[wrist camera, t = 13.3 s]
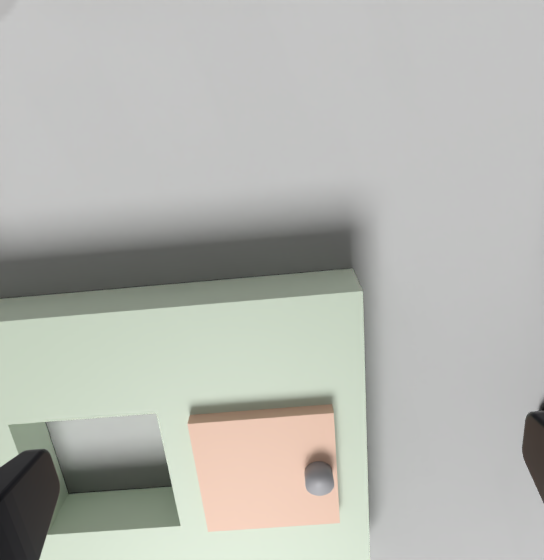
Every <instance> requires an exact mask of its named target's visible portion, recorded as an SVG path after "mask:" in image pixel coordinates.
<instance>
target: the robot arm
mask: <svg viewBox="0 0 544 560" xmlns="http://www.w3.org/2000/svg"><path fill="white" fill-rule="evenodd" d="M522 452H523V457H524V460H525V463H526V465H527V467H528V469H529V472H530V474H531V476H532V478H533V481H534V483H535V485H536V487H537V489H538V492H539V494H540V496H541V498H542V500H543V503H544V409H543V410H542V411H535V412H530V413H528V414H527V416H526V420H525V428H524V436H523V445H522ZM59 493H60V482H59V478H58V475H57V472H56V469H55V466H54V463H53V460H52V457H51V454H50V452H49V451H48V450H46V449H33V450H25V451H23V452H21V453H20V454H18V455H17V456H16V457H14V458H13V459H11V460H10V461H8V462H7V463H5V464H4V465H3V466H1V467H0V560H39V559H40V556H41V553H42V550H43V546H44V543H45V540H46V536H47V533H48V530H49V527H50V523H51V520H52V517H53V513H54V510H55V507H56V504H57V500H58V497H59Z"/></svg>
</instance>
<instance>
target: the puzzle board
mask: <svg viewBox="0 0 544 560" xmlns="http://www.w3.org/2000/svg"><path fill="white" fill-rule="evenodd" d="M143 414H156V415H157V420H158V424H159V429H160V433H161V438H162V442H163V447H164V452H165V456H166V461H167V465H168V470H169V474H170V479H171V484H172V487H160V488H146V489H131V490H117V491H103V492H89V493H74V494H68V491H67V488H66V485H65V482H64V479H63V475H62V472H61V469H60V466H59V463H58V460H57V457H56V454H55V451H54V448H53V444H52V441H51V438H50V435H49V432H48V429H47V426H46V423H45V422H51V421H64V420H77V419H90V418H103V417H117V416H130V415H143ZM33 449H46V450H48V451H49V452H50V454H51V457H52V460H53V463H54V466H55V469H56V472H57V475H58V478H59V482H60V493H59V497H58V500H57V504H56V507H55V510H54V513H53V517H52V520H51V523H50V527H49V530H48V533H47V536H46V540H45V543H44V546H43V550H42V553H41V556H40V559H39V560H370V542H369V504H368V466H367V428H366V390H365V352H364V314H363V290H362V288H361V286H360V284H359V281H358V279H357V277H356V275H355V272H354V270H353V268H352V269H341V270H329V271H318V272H306V273H294V274H283V275H271V276H260V277H248V278H236V279H225V280H213V281H202V282H190V283H178V284H167V285H155V286H144V287H132V288H120V289H109V290H97V291H86V292H74V293H62V294H51V295H39V296H28V297H16V298H4V299H0V467H1V466H3V465H4V464H5V463H7V462H8V461H10V460H11V459H13V458H14V457H16V456H17V455H18V454H20V453H21V452H23V451H25V450H33Z"/></svg>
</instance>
